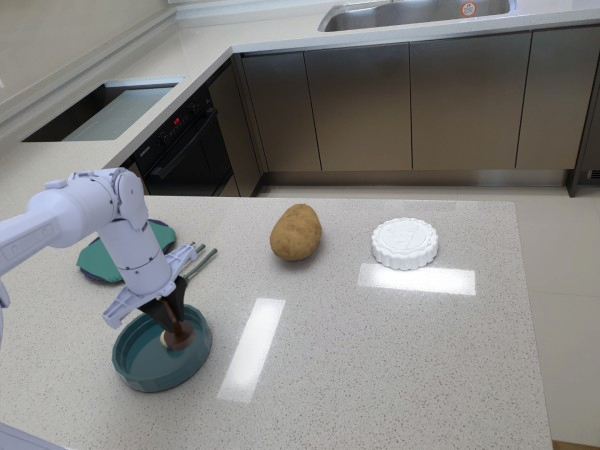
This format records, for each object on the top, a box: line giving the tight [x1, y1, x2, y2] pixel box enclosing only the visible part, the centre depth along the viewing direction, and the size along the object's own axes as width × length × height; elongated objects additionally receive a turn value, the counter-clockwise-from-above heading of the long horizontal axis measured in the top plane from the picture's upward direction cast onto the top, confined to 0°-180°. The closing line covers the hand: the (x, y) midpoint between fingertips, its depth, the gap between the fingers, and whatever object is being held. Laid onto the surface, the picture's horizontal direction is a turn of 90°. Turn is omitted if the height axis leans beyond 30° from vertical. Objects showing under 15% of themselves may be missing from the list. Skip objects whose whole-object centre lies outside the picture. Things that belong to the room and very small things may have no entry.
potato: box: [269, 203, 323, 262], centre depth 88 cm, size 10×14×8 cm
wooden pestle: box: [157, 296, 196, 351], centre depth 65 cm, size 4×4×9 cm
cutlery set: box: [75, 218, 218, 283], centre depth 96 cm, size 20×30×2 cm, turn 56°
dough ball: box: [160, 331, 168, 347], centre depth 75 cm, size 3×3×3 cm
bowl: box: [111, 303, 213, 393], centre depth 74 cm, size 15×15×4 cm
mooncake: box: [370, 216, 439, 272], centre depth 85 cm, size 12×12×4 cm
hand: (173, 323), depth 66 cm, fingers closed on wooden pestle
